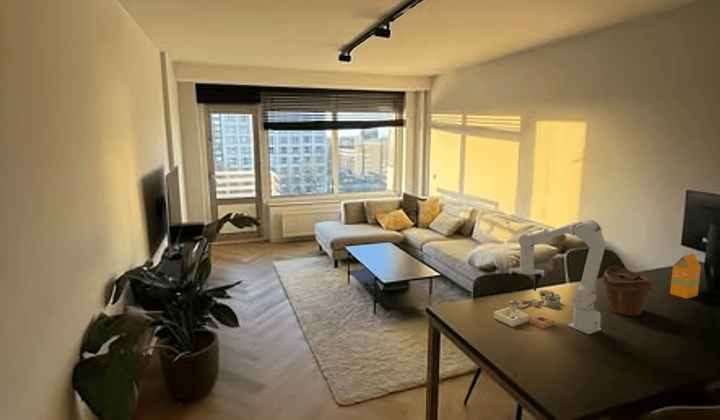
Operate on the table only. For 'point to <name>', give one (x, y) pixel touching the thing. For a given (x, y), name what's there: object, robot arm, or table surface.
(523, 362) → the table surface
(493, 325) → the table surface
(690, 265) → the orange juice
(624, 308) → the terracotta flower pot
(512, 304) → the pin
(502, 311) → the tray
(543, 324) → the block
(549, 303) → the pulley system
